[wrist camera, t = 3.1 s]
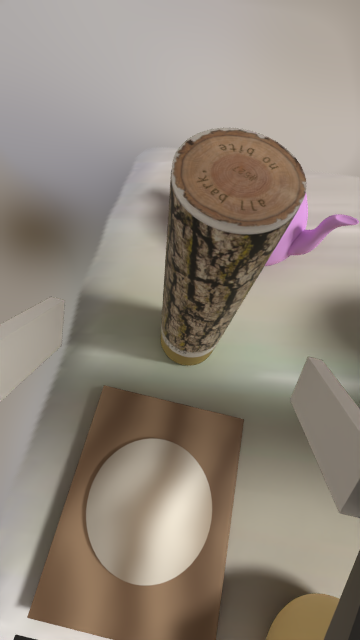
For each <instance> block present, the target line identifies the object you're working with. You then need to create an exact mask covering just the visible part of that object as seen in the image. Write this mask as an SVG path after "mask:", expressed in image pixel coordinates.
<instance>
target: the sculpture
mask: <svg viewBox="0 0 360 640" xmlns="http://www.w3.org/2000/svg"><path fill="white" fill-rule="evenodd" d="M339 600H340V599H339V598H336V597H333V596H330V595H325V594H307V595H303V596H300V597H298V598H296V599H294V600H292V601H291V602H289V603H288V604H287V605H286V606H285V607H284V608H283V609H282V610H281V611H280V612H279V614H278V615H277V616H276V618H275V619H274V621H273V623H272V625H271V627H270V629H269V632H268V635H267V638H266V640H324V637H325V635H326V632H327V630H328V627H329V625H330V622H331V620H332V617H333V615H334V612H335V610H336V608H337V605H338V603H339Z"/></svg>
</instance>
